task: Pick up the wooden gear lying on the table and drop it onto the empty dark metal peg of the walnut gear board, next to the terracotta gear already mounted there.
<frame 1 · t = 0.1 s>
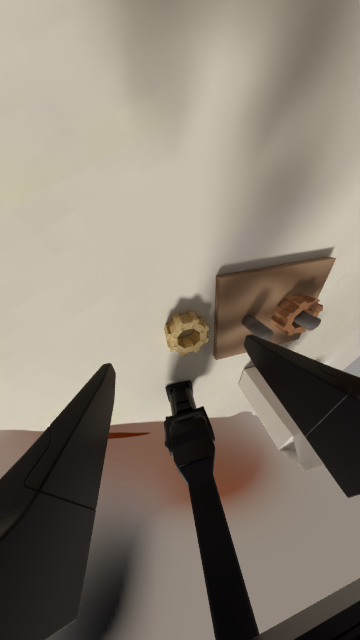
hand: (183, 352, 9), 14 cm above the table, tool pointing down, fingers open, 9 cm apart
milk carton: (251, 374, 40), on the table
wooden gear: (184, 328, 26), on the table
gear board: (263, 311, 29), on the table
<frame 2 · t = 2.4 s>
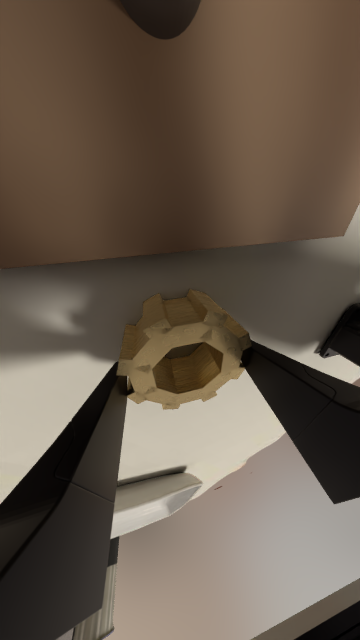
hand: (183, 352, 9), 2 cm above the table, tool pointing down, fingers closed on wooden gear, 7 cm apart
milk frother: (102, 533, 47), on the table
square plate: (123, 495, 31), on the table
wooden gear: (178, 338, 10), on the table, touching gripper
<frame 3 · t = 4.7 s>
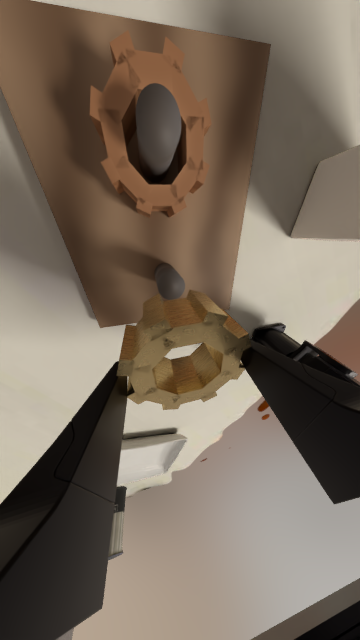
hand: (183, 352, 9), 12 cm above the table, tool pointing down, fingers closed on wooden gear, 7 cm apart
milk frother: (112, 493, 59), on the table
milk carton: (322, 207, 18), on the table
square plate: (133, 451, 44), on the table
wooden gear: (178, 338, 11), point 10 cm above the table, touching gripper
gear board: (159, 228, 15), on the table
when the fingers open (5 cm above the table, at t = 7.1 s): wooden gear drops 2 cm, resting on gear board.
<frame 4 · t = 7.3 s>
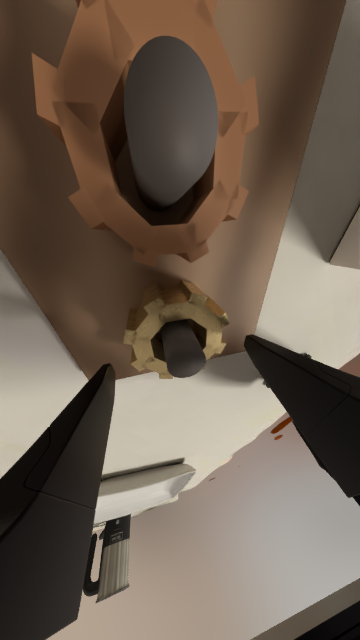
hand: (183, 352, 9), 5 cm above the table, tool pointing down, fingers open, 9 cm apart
milk frother: (116, 516, 56), on the table
square plate: (136, 481, 40), on the table
wooden gear: (172, 321, 13), point 1 cm above the table, touching gear board
gear board: (164, 265, 11), on the table
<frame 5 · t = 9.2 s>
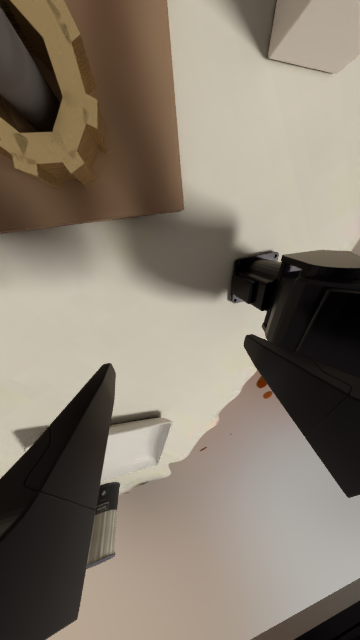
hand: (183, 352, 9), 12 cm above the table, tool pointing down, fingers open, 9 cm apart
milk frother: (104, 490, 54), on the table
square plate: (113, 441, 38), on the table
wooden gear: (44, 112, 9), point 1 cm above the table, touching gear board
gear board: (7, 1, 8), on the table
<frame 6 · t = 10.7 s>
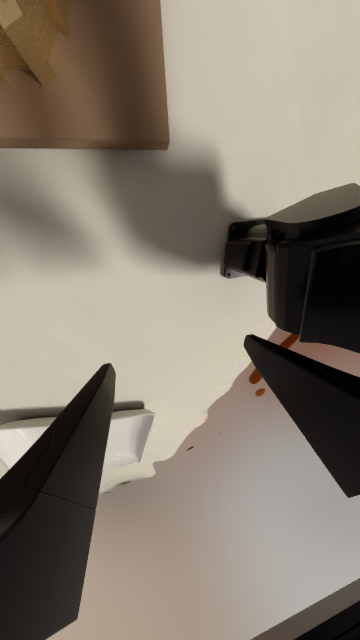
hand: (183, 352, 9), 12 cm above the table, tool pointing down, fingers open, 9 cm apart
square plate: (91, 433, 35), on the table
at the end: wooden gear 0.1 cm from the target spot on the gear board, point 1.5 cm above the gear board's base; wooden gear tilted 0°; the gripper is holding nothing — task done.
